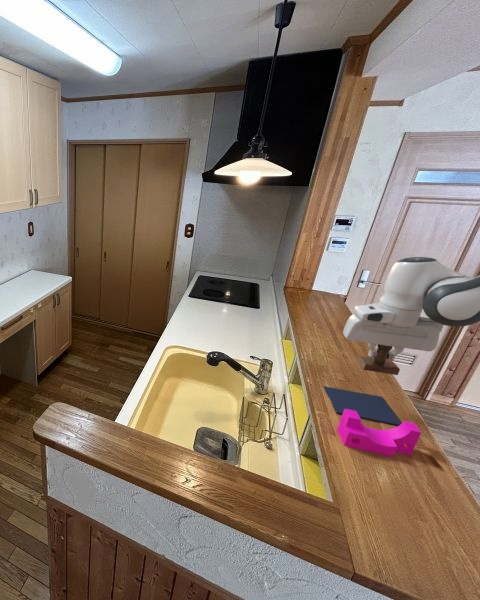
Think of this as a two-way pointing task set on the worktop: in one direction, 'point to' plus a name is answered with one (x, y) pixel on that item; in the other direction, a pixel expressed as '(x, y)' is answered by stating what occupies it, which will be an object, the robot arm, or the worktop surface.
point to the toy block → (377, 436)
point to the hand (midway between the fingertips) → (380, 357)
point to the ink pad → (362, 405)
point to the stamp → (379, 362)
